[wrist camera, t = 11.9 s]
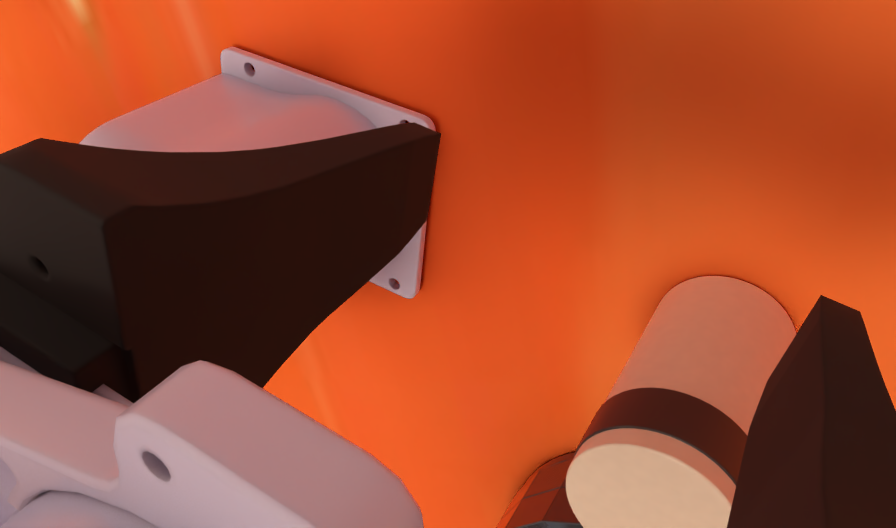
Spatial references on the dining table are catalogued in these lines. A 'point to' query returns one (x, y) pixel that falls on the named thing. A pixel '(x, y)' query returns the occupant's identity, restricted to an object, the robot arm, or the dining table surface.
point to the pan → (543, 499)
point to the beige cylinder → (681, 410)
